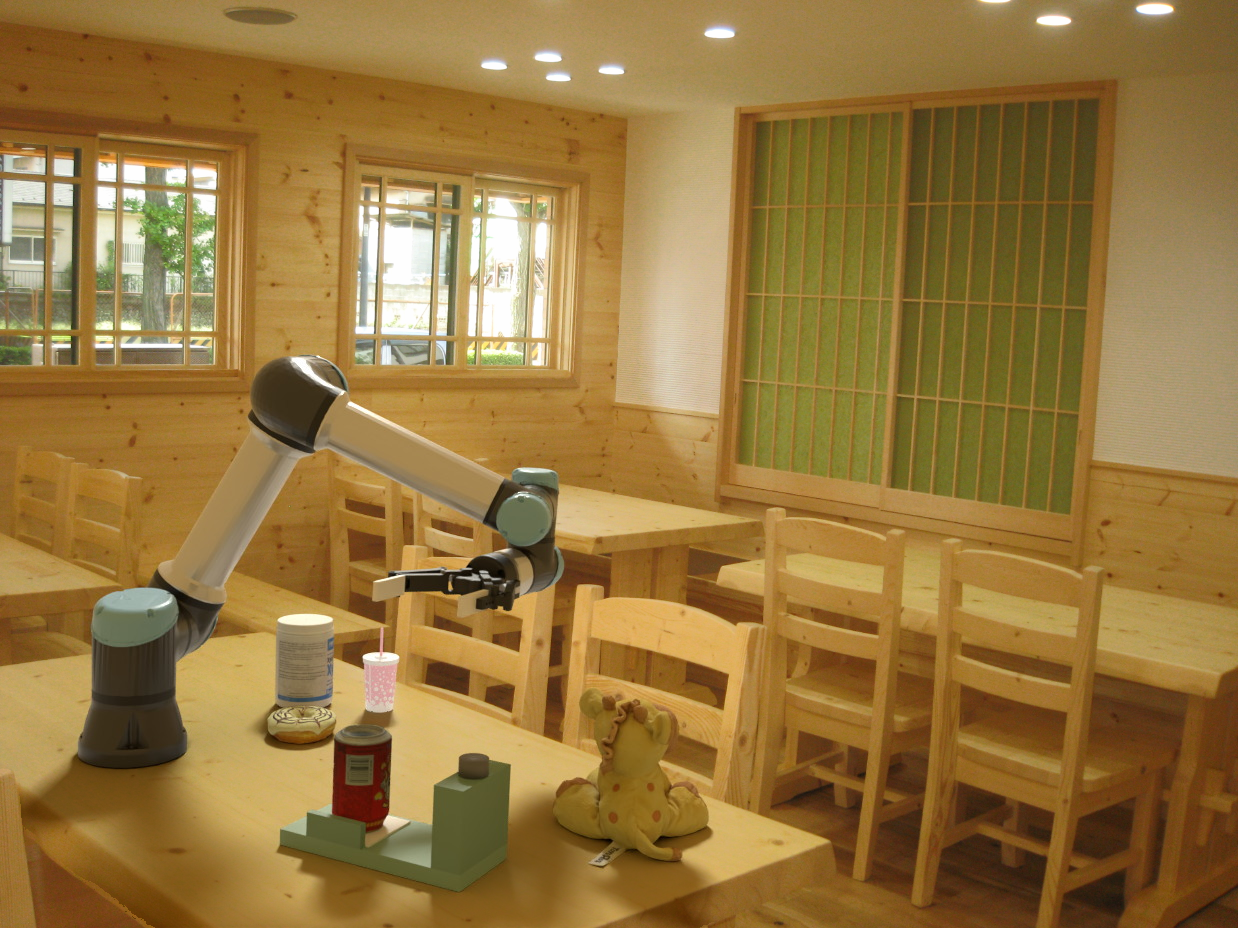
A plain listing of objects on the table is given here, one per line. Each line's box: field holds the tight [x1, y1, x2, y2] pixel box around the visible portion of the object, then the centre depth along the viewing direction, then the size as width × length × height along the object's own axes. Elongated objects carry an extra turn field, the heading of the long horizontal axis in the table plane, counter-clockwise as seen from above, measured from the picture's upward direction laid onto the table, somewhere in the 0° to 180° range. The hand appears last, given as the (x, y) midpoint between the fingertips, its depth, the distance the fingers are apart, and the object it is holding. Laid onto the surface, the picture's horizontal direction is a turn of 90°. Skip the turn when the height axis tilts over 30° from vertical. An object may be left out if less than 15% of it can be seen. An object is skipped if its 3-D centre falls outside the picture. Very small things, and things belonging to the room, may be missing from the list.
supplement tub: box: [274, 613, 335, 708], centre depth 213 cm, size 10×10×15 cm
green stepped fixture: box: [279, 752, 512, 893], centre depth 155 cm, size 26×11×14 cm, turn 65°
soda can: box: [331, 723, 393, 834], centre depth 157 cm, size 7×7×12 cm
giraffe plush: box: [552, 686, 710, 867], centre depth 164 cm, size 20×24×19 cm
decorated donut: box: [266, 706, 337, 745], centre depth 198 cm, size 10×11×4 cm
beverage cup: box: [362, 627, 400, 713], centre depth 213 cm, size 6×6×14 cm
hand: (416, 599), depth 168 cm, fingers open, 13 cm apart
